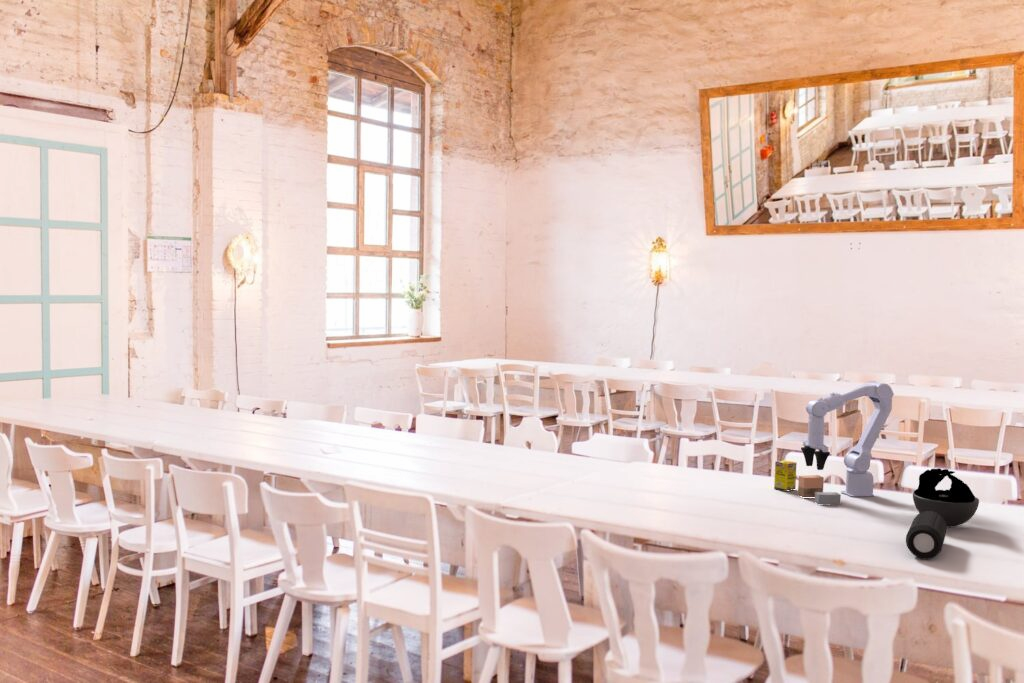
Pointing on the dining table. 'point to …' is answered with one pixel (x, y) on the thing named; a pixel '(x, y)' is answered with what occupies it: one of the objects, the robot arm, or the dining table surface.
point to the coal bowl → (945, 497)
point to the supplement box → (785, 475)
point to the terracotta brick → (811, 481)
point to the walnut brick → (808, 491)
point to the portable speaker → (926, 535)
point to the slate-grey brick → (827, 498)
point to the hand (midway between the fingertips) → (814, 467)
